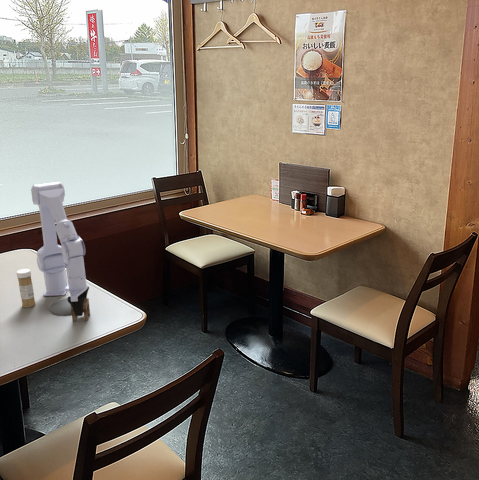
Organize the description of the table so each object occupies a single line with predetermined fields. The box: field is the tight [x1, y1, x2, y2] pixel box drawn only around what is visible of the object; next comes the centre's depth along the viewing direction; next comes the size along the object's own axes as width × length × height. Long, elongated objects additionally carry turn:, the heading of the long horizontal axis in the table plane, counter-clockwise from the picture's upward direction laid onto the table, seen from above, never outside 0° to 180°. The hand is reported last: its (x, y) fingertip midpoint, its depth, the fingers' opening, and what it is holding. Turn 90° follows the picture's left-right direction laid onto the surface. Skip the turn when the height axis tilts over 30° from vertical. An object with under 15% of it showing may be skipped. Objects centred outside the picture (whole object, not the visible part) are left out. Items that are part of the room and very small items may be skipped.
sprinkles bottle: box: [16, 268, 36, 308], centre depth 181 cm, size 5×5×14 cm
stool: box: [70, 297, 91, 322], centre depth 172 cm, size 5×5×6 cm
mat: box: [49, 297, 72, 316], centre depth 181 cm, size 13×13×1 cm
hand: (80, 311), depth 173 cm, fingers closed on stool, 5 cm apart
